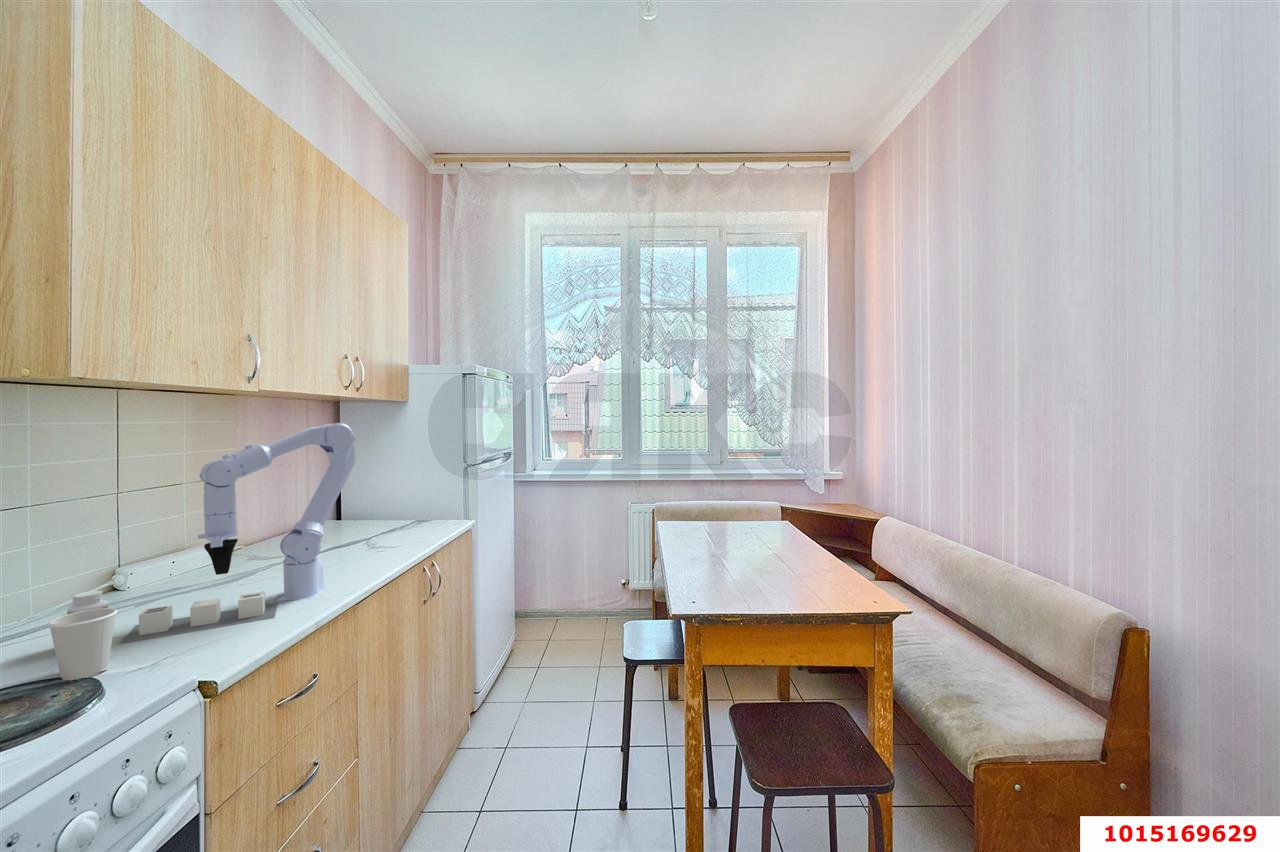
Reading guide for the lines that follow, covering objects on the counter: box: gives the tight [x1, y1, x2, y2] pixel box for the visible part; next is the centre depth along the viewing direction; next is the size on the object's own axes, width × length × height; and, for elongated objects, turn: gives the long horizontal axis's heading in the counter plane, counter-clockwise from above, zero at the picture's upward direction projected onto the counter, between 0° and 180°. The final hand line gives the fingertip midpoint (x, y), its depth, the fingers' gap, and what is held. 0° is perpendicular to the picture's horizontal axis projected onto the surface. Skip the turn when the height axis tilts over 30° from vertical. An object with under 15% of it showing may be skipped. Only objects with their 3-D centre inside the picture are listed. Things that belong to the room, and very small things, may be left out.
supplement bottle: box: [66, 590, 109, 615], centre depth 105 cm, size 6×6×10 cm
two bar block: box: [138, 604, 174, 635], centre depth 111 cm, size 4×4×4 cm
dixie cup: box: [47, 607, 118, 681], centre depth 92 cm, size 8×8×10 cm
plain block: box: [189, 598, 221, 627], centre depth 115 cm, size 4×4×4 cm
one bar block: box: [237, 591, 266, 619], centre depth 119 cm, size 4×4×4 cm
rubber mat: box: [117, 602, 279, 645], centre depth 115 cm, size 25×12×1 cm, turn 121°
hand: (222, 573), depth 121 cm, fingers closed
